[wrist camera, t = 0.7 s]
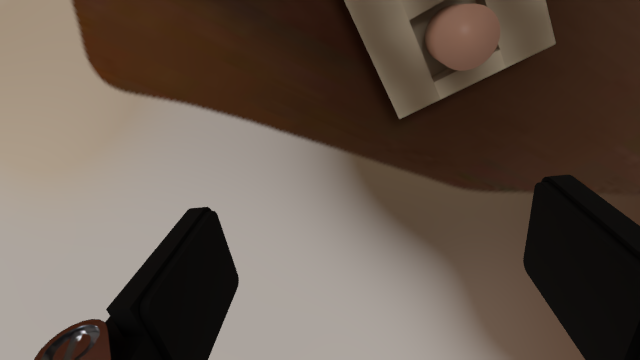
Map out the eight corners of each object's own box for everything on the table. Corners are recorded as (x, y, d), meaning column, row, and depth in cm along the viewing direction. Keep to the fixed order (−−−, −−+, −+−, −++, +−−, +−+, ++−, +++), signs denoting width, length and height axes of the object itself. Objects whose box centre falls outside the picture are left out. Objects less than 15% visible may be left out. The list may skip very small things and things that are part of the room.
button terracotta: (470, -8, 23) (489, -10, 20) (487, 45, 25) (507, 51, 22) (416, 22, 24) (426, 25, 21) (435, 71, 26) (447, 81, 23)
